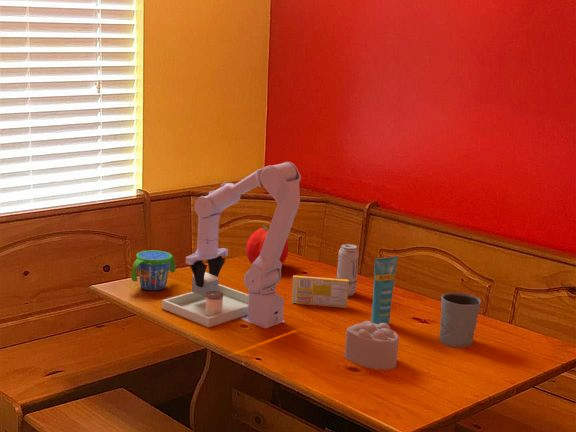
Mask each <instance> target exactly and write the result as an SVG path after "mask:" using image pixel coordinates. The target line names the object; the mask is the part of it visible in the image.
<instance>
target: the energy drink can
mask: <svg viewBox="0 0 576 432" xmlns="http://www.w3.org/2000/svg"><path fill="white" fill-rule="evenodd" d="M359 255H360V252H359V250H358V246H357V245H356V244H352V243H343V244H341V246H340V248H339V250H338V258H337V273H336V279H346V280H349V285H348V297H351V296H354V295H355V293H356V291H357V281H358V280H357V279H358V270H359V269H358V267H359Z"/></svg>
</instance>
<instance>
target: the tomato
mask: <svg viewBox="0 0 576 432" xmlns="http://www.w3.org/2000/svg"><path fill="white" fill-rule="evenodd" d="M261 225H262V226H263V227H260V228H258V229H256V230H255V231H254V232H253V233H252V234H251V235H250V236H249V238H248V240H247V243H246V248H245V252H246V256H247V259H248V261H249V263H250V265H252V263H253V262H254V261H255V260H256V259H257V258H258V257H259V255H260V252H261V250H262V247H263V244H264V241H265V238H266V235H267V233H268V230H269V227H270V226H268V227H266V225H264V224H261ZM288 254H289V242H288V239H287V240H286V243H285V246H284V248H283V251H282V254H281V256H280V259H279V260H280V262H281V263H282V264H284V262H285V261H286V260H287V258H288Z"/></svg>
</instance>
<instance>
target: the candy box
mask: <svg viewBox="0 0 576 432" xmlns="http://www.w3.org/2000/svg"><path fill="white" fill-rule="evenodd" d="M348 285H349V280H346V279H337V278H333V277H332V278H331V277H320V276H319V277H318V276H306V275H294V274H293V276H292V290H291V304H294V303H296V305H305V304H306V306H307V305H308V306H316V305H318V307H330V308H331V307H332V308H341V309H342V308H343V309H347V308H348V298H349V296H348Z"/></svg>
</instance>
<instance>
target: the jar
mask: <svg viewBox="0 0 576 432" xmlns="http://www.w3.org/2000/svg"><path fill="white" fill-rule="evenodd" d="M222 305H223V293H222V292H219V291H209V292H206V312H205V316H207V317H211V316H214V315H218V314H221V313H222Z"/></svg>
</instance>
